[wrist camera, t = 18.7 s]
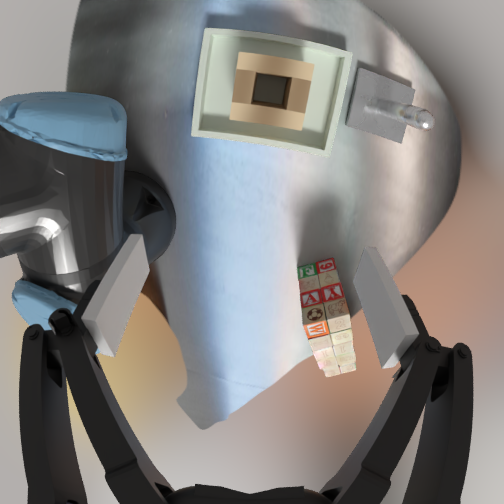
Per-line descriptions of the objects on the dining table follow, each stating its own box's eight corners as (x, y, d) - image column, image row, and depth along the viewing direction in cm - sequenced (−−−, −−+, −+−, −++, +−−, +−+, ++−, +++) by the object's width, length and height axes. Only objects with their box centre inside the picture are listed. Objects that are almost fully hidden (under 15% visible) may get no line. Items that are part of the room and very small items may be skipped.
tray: (196, 132, 32) (191, 136, 30) (209, 31, 24) (204, 28, 22) (325, 152, 33) (329, 157, 31) (346, 54, 25) (352, 53, 23)
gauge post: (345, 125, 30) (382, 148, 20) (357, 68, 26) (402, 65, 16) (398, 141, 31) (447, 173, 21) (411, 89, 26) (468, 101, 16)
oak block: (236, 112, 30) (229, 119, 24) (244, 58, 26) (239, 51, 20) (294, 121, 30) (301, 130, 24) (304, 67, 26) (314, 64, 20)
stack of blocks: (348, 333, 53) (359, 383, 43) (320, 340, 55) (326, 391, 45) (333, 256, 42) (350, 314, 32) (295, 266, 44) (302, 326, 34)
